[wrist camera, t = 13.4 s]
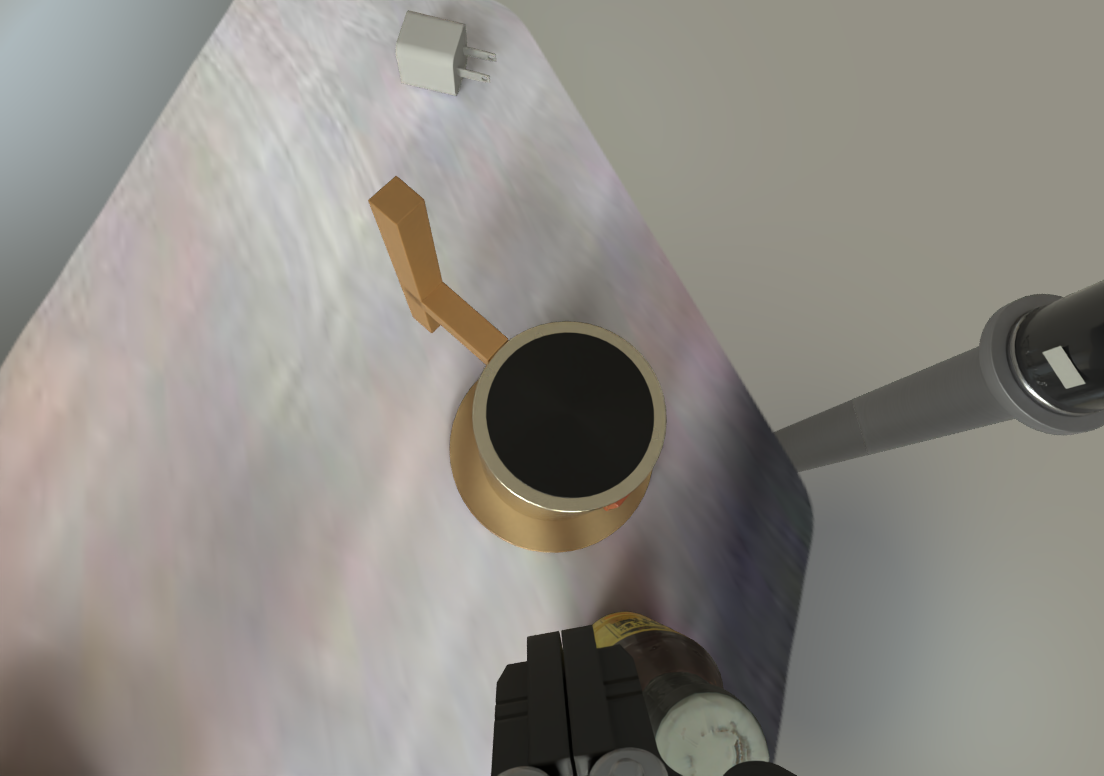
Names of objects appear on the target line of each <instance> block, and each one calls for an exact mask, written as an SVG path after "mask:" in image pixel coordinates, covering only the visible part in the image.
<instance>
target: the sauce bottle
mask: <svg viewBox="0 0 1104 776" xmlns="http://www.w3.org/2000/svg"><path fill="white" fill-rule="evenodd" d="M593 630H594V636H595V641H596V647H597V648H602V647H607V646H613V645H618V644H620V645H621V646H622V647H623V648H624V649H625V650H626V651H627V652H628V653H629V654H630V655H631V656H632V657H633V658H634V662H635V666H636V669H637V673H638V677H639V681H640V684H641V688H642V692H643V696H644V699H645V703H646V707H647V710H648V714H649V718H650V722H651V725H652V729H653V733H654V737H655V740H656V744H657V748H658V751H659V753H660V755H661V757H662V759H663V760H664V761H665V763H666V764H667V765H668V766H669V767H670V768H672V769H673V770H674V771H676V772H677V773H679V774H681V775H683V776H723V775H724V774H725V772H727V771H728V770H729V769H730V768H731V767H733V766H735V765H737V764H739V763H742V762H746V761H765V762H769V752H768V748H767V743H766V739H765V737H764V734H763V731H762V728H761V726H760V724H759V722H758V720H757V719H756V717H755V716H754V715H753V714H752V713H751V712H750V710H749V709H748V708H747V707H746V705H745V704H743V703H742V702H741V701H740V700H739V699H737V698H736V697H735V696H734V695H732V694H731V693H729V692H728V691H726V690H724V689H723V682H722V678H721V674H720V672H719V670H718V667H717V665H716V664H715V662H714V660H713V659H712V657H711V656H710V655H709V654H708V653H707V651H706V650H705V649H704V648H703V647H701V646H700V645H699V644H698V643H697V642H695V641H694V640H692V639H690V638H688V637H686V636H685V635H683V634H681V633H678V632H676V631H674V630H673V629H671V628H668V627H666V626H664V625H662V624H660V623H658V622H656V621H654V620H652V619H650V618H648V617H645V616H643V615H641V614H638V613H633V612H617V613H612V614H609V615H607V616H605V617H603V618H601V619H599V620H598V621H597V622H595V623H594V624H593Z"/></svg>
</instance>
